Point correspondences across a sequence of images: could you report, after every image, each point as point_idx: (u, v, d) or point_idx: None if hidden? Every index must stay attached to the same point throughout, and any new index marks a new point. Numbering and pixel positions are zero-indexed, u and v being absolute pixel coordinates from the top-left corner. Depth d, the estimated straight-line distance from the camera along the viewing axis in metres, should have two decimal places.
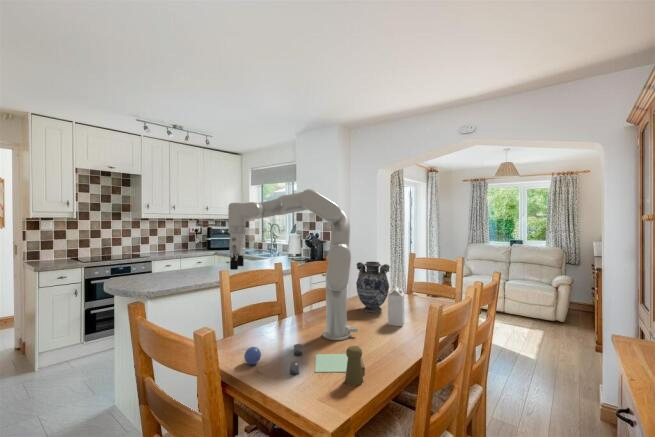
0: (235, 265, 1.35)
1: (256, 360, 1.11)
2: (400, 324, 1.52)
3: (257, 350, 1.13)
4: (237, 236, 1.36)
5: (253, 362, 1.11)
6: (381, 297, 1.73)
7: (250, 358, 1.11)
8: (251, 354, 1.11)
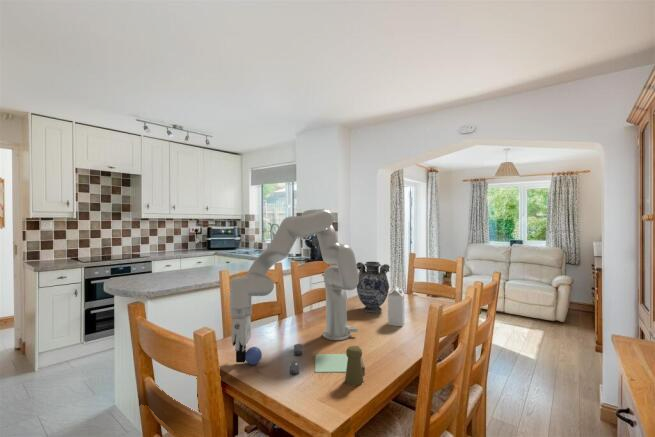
0: (242, 357, 1.12)
1: (257, 361, 1.11)
2: (400, 324, 1.52)
3: (258, 351, 1.13)
4: (241, 322, 1.09)
5: (253, 362, 1.11)
6: (381, 297, 1.73)
7: (251, 358, 1.10)
8: (252, 354, 1.11)
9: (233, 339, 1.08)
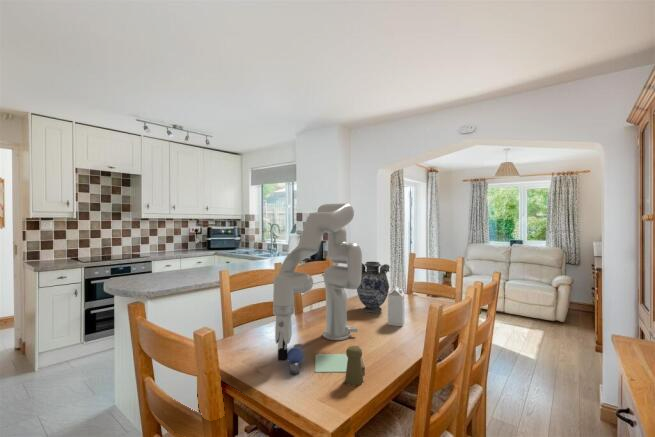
0: (284, 356, 1.12)
1: None
2: (400, 324, 1.52)
3: (302, 358, 1.13)
4: (285, 320, 1.09)
5: None
6: (381, 297, 1.73)
7: (295, 359, 1.10)
8: (298, 357, 1.11)
9: (277, 337, 1.08)
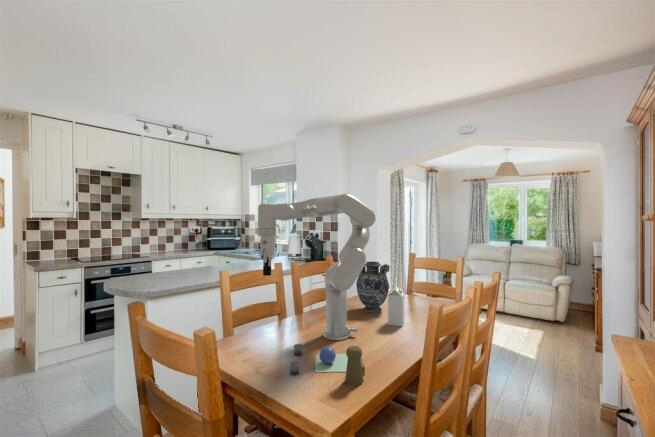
0: (268, 271, 1.32)
1: (327, 363, 1.11)
2: (400, 324, 1.52)
3: None
4: (268, 239, 1.28)
5: (324, 362, 1.11)
6: (381, 297, 1.73)
7: (328, 358, 1.10)
8: (331, 357, 1.11)
9: (261, 253, 1.28)
